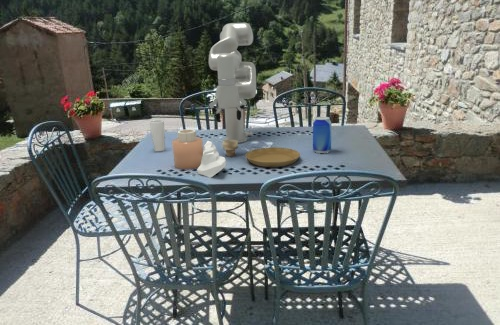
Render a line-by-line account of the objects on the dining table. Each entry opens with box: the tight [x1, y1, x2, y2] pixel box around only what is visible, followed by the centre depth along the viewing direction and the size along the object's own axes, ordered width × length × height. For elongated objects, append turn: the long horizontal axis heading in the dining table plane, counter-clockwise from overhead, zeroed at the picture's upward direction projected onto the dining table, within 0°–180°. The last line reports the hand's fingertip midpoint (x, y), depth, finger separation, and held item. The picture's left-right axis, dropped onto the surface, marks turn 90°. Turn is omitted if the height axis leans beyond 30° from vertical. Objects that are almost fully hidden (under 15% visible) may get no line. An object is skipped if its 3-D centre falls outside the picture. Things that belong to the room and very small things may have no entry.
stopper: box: [222, 140, 239, 157], centre depth 198 cm, size 7×7×6 cm
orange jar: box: [171, 128, 204, 170], centre depth 186 cm, size 13×13×15 cm
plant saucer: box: [245, 146, 301, 168], centre depth 188 cm, size 24×24×3 cm
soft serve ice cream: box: [196, 140, 227, 179], centre depth 174 cm, size 12×15×14 cm
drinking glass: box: [149, 119, 166, 153], centre depth 210 cm, size 7×7×15 cm
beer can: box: [312, 116, 333, 154], centre depth 197 cm, size 8×8×16 cm
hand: (228, 120), depth 194 cm, fingers open, 9 cm apart
